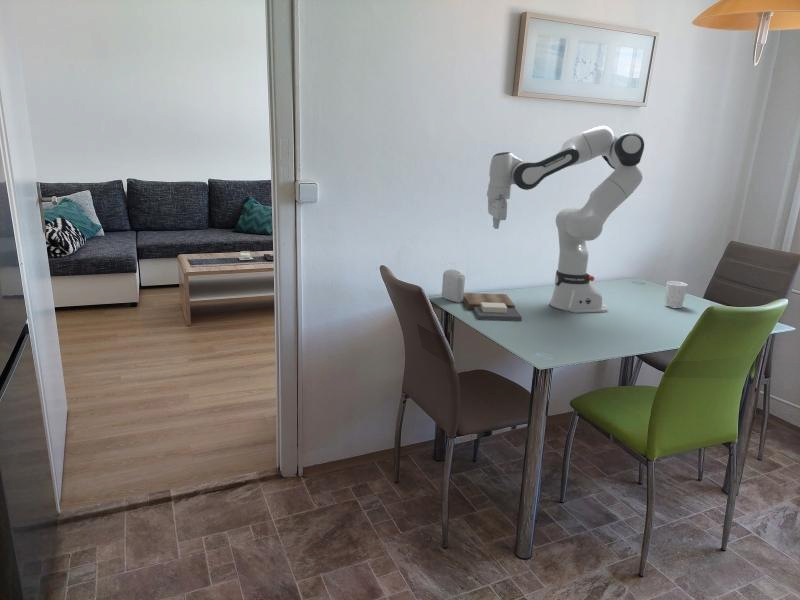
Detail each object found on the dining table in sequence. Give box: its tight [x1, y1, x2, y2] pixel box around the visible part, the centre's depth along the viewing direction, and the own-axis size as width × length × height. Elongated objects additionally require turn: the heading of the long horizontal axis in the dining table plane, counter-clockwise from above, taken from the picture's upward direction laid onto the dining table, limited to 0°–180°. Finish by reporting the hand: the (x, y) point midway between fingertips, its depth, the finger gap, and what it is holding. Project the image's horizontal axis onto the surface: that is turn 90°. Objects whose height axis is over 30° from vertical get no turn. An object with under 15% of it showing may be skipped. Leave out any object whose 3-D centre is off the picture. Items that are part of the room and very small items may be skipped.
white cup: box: [664, 280, 689, 308], centre depth 240 cm, size 8×8×10 cm
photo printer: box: [441, 269, 466, 304], centre depth 236 cm, size 10×4×12 cm, turn 37°
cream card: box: [481, 302, 507, 313], centre depth 220 cm, size 9×6×2 cm, turn 91°
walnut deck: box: [463, 292, 516, 311], centre depth 232 cm, size 18×16×2 cm
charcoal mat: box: [473, 307, 523, 322], centre depth 219 cm, size 16×11×2 cm
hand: (495, 228), depth 236 cm, fingers closed
